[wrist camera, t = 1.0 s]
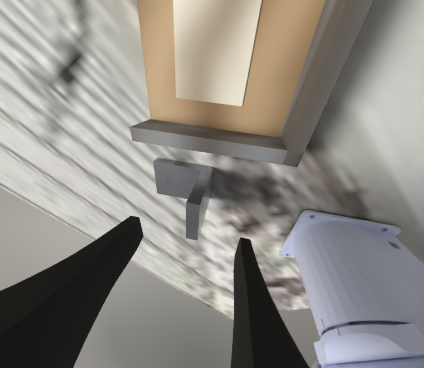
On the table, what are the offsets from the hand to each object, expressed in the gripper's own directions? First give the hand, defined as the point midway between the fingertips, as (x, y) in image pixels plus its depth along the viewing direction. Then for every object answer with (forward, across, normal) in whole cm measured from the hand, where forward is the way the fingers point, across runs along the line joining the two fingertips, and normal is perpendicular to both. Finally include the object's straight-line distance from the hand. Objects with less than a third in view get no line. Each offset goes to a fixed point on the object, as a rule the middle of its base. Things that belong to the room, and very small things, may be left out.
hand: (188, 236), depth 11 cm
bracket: (+7, +2, 0) cm, 8 cm away
